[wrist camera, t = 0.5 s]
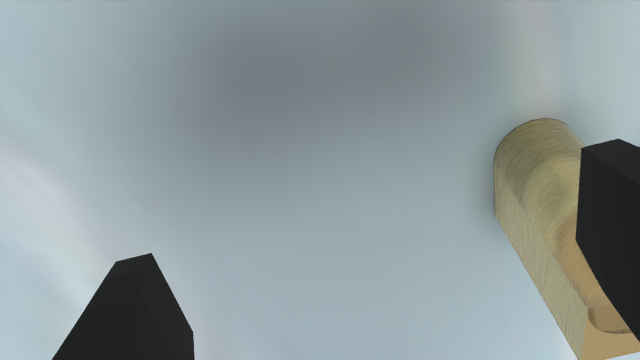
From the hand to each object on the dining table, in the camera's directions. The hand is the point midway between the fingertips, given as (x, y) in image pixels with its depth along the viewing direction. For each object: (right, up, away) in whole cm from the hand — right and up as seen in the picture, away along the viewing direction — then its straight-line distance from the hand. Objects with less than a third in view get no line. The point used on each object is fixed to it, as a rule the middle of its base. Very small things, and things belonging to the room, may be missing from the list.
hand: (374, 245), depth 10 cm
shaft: (+7, +2, +12) cm, 14 cm away
